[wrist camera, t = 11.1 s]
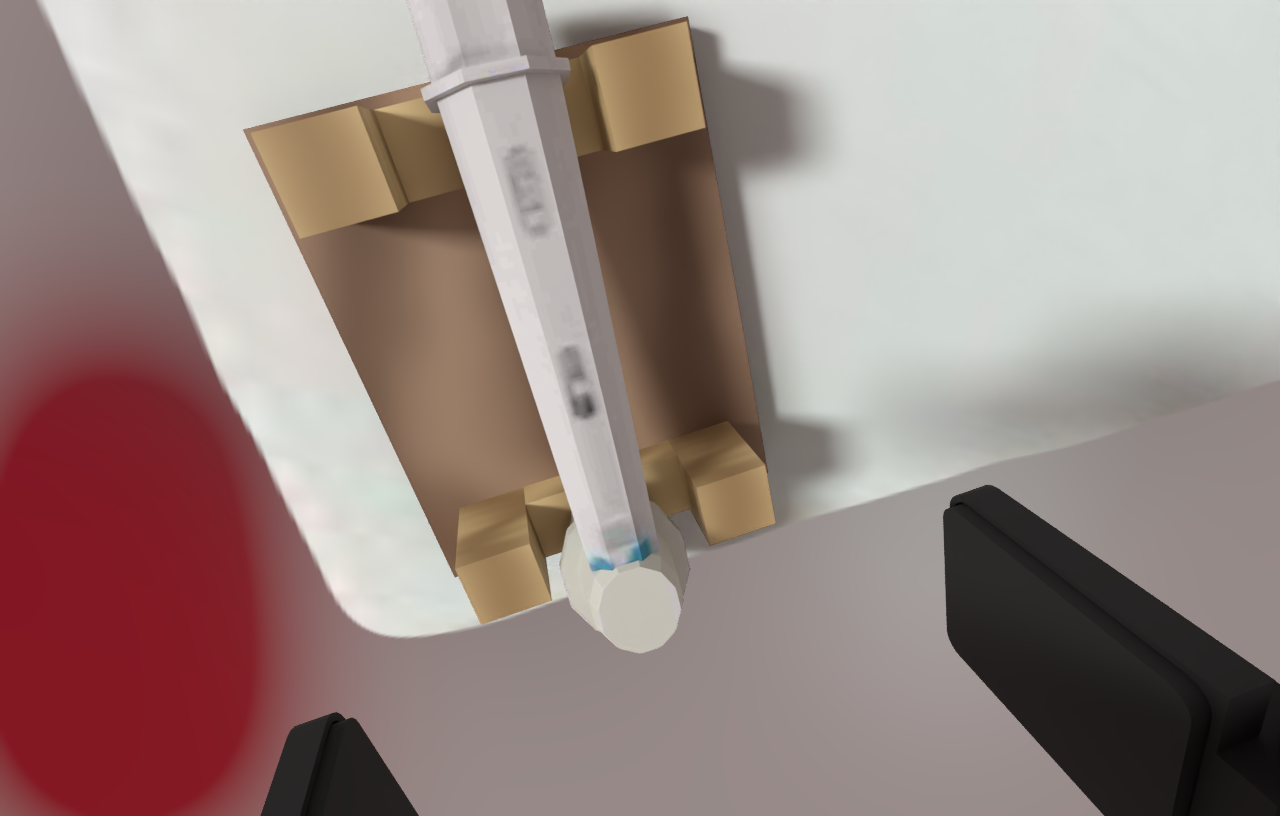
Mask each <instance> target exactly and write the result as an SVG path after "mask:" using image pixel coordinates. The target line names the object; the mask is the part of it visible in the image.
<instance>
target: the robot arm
mask: <svg viewBox="0 0 1280 816" xmlns="http://www.w3.org/2000/svg"><path fill="white" fill-rule="evenodd" d="M943 522H944V523H943V525H944V555H945V585H946V616H947V633H948V636H949V640H950V642H951V644H952V646H953V647H954V649H955V651H956V652H957V653H958V654H959V656H960V657H961V658H962V659H963V660H964V661H965V662H966V663H967V664H968V665H969V667H971V669H972V670H973V671H974V672H975V673H976V674H977V675H978V676H979V678H980V679H981V680H982V681H983V682H984V683H985V684H986V685H987V687H988V688H989V689H990V690H991V691H992V692H993V693H994V694H995V695H996V696H997V697H998V699H999V700H1000V701H1001V702H1002V703H1003V704H1004V705H1005V706H1006V708H1007V709H1008V710H1009V711H1010V712H1011V713H1012V714H1013V715H1014V716H1015V717H1016V719H1017V720H1018V721H1019V722H1020V723H1021V724H1022V725H1023V726H1024V727H1025V729H1027V731H1028V732H1029V733H1030V734H1031V735H1032V736H1033V737H1034V738H1035V739H1036V741H1037V742H1038V743H1039V744H1040V745H1041V746H1042V747H1043V748H1044V750H1045V751H1046V752H1047V753H1048V754H1049V755H1050V756H1051V757H1052V758H1053V759H1054V760H1055V762H1056V763H1057V764H1058V765H1059V766H1060V767H1061V768H1062V769H1063V771H1064V772H1065V773H1066V774H1067V775H1068V776H1069V777H1070V778H1071V779H1072V781H1074V783H1075V784H1076V785H1077V786H1078V787H1079V788H1080V789H1081V790H1082V792H1083V793H1084V794H1085V795H1086V796H1087V797H1088V798H1089V799H1090V800H1091V802H1092V803H1093V804H1094V805H1095V806H1096V807H1097V808H1098V809H1099V810H1100V811H1101V813H1102V814H1103V815H1104V816H1280V684H1279V683H1277V682H1276V681H1275V680H1274V679H1272V678H1271V677H1270V676H1268V675H1267V674H1265V673H1264V672H1262V671H1261V670H1259V669H1258V668H1257V667H1255V666H1254V665H1252V664H1251V663H1249V662H1248V661H1246V660H1245V659H1244V658H1242V657H1241V656H1239V655H1238V654H1236V653H1235V652H1233V651H1232V650H1231V649H1229V648H1228V647H1226V646H1225V645H1223V644H1222V643H1220V642H1219V641H1218V640H1216V639H1215V638H1213V637H1212V636H1210V635H1209V634H1207V633H1206V632H1205V631H1203V630H1202V629H1200V628H1199V627H1197V626H1196V625H1194V624H1193V623H1192V622H1190V621H1189V620H1187V619H1186V618H1184V617H1183V616H1182V615H1180V614H1179V613H1177V612H1176V611H1174V610H1173V609H1171V608H1170V607H1169V606H1167V605H1166V604H1164V603H1163V602H1161V601H1160V600H1158V599H1157V598H1156V597H1154V596H1153V595H1151V594H1150V593H1148V592H1147V591H1145V590H1144V589H1143V588H1141V587H1140V586H1138V585H1137V584H1135V583H1134V582H1132V581H1131V580H1130V579H1128V578H1127V577H1125V576H1124V575H1122V574H1121V573H1119V572H1118V571H1117V570H1115V569H1114V568H1112V567H1111V566H1109V565H1108V564H1106V563H1105V562H1103V561H1102V560H1101V559H1099V558H1098V557H1096V556H1095V555H1093V554H1092V553H1091V552H1089V551H1088V550H1086V549H1085V548H1083V547H1082V546H1080V545H1079V544H1078V543H1076V542H1075V541H1073V540H1072V539H1070V538H1069V537H1067V536H1066V535H1065V534H1063V533H1062V532H1060V531H1059V530H1057V529H1056V528H1054V527H1053V526H1052V525H1050V524H1049V523H1047V522H1046V521H1044V520H1043V519H1041V518H1040V517H1039V516H1037V515H1036V514H1034V513H1033V512H1031V511H1030V510H1028V509H1027V508H1026V507H1024V506H1023V505H1021V504H1020V503H1018V502H1017V501H1015V500H1014V499H1013V498H1011V497H1010V496H1008V495H1007V494H1005V493H1004V492H1002V491H1001V490H1000V489H998V488H996V487H994V486H992V485H985V486H982V487H979V488H976V489H973V490H971V491H968V492H965V493H962V494H959V495H956V496H954V497H953V498H952V499H951V501H950V508H948V509H946V510H945V511H944V515H943ZM261 816H419V815H418V814H417V812H416V811H415V809H414V808H413V806H412V804H411V803H410V802H409V800H408V798H407V797H406V795H405V794H404V792H403V791H402V789H401V787H400V786H399V784H398V783H397V781H396V780H395V778H394V777H393V775H392V774H391V772H390V770H389V769H388V767H387V766H386V764H385V763H384V761H383V760H382V758H381V757H380V755H379V753H378V752H377V751H376V749H375V747H374V746H373V744H372V743H371V741H370V739H369V738H368V737H367V735H366V733H365V732H364V730H363V729H362V727H361V726H360V724H359V723H358V721H357V720H356V719H354V718H349V719H345V718H344V717H343V716H342V715H341V714H339V713H337V712H336V713H332V714H329V715H326V716H323V717H320V718H317V719H314V720H311V721H309V722H306V723H303V724H300V725H297V726H295V727H294V728H293V729H292V730H291V731H290V733H289V735H288V737H287V739H286V742H285V745H284V748H283V751H282V754H281V757H280V761H279V763H278V766H277V769H276V772H275V775H274V778H273V781H272V784H271V787H270V790H269V793H268V796H267V798H266V801H265V804H264V807H263V810H262V813H261Z"/></svg>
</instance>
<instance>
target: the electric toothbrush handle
mask: <svg viewBox="0 0 1280 816" xmlns="http://www.w3.org/2000/svg"><path fill="white" fill-rule="evenodd" d="M407 4H408V7H409V10H410V14H411V17H412V21H413V24H414V27H415V31H416V34H417V37H418V41H419V44H420V47H421V51H422V54H423V57H424V61H425V64H426V67H427V71H428V74H429V78H430V81H431V84H429V85H427V86H425V87H424V88H422V89H420V90H421V93H422V96H423V99H424V102H425V104H426V105H427V106H428V108H429V109H430V111H431V112H432V113H441V116H442V119H443V122H444V125H445V128H446V131H447V134H448V137H449V140H450V143H451V147H452V150H453V153H454V156H455V159H456V162H457V165H458V168H459V171H460V174H461V177H462V180H463V183H464V186H465V189H466V192H467V195H468V198H469V201H470V204H471V207H472V210H473V213H474V216H475V219H476V223H477V226H478V229H479V232H480V235H481V238H482V241H483V244H484V247H485V250H486V253H487V256H488V259H489V262H490V265H491V268H492V271H493V274H494V277H495V280H496V283H497V286H498V289H499V292H500V296H501V299H502V302H503V305H504V308H505V311H506V314H507V317H508V320H509V323H510V326H511V329H512V332H513V335H514V338H515V341H516V344H517V347H518V350H519V353H520V356H521V359H522V362H523V365H524V369H525V372H526V375H527V378H528V381H529V384H530V387H531V390H532V393H533V396H534V399H535V402H536V405H537V408H538V411H539V414H540V417H541V420H542V423H543V426H544V429H545V432H546V435H547V438H548V441H549V445H550V448H551V451H552V454H553V457H554V460H555V463H556V466H557V469H558V472H559V475H560V478H561V481H562V484H563V487H564V490H565V493H566V496H567V499H568V502H569V505H570V508H571V511H572V513H571V521H570V526H569V527H568V528H567V531H566V536H565V541H564V545H563V550H562V555H561V560H560V571H561V575H562V578H563V581H564V585H565V588H566V591H567V595H568V598H569V601H570V604H571V607H572V608H573V609H575V611H576V612H577V613H578V614H580V615H581V616H582V617H583V618H584V619H585V620H586V621H587V622H588V623H589V624H590V625H591V626H592V627H593V628H594V629H595V630H597V631H600V632H601V633H602V634H604V636H606V637H607V638H608V639H609V640H610V641H611V642H612V643H613V644H614V645H615V646H617V647H618V648H620V649H623V650H627V651H632V652H636V653H644V652H647V651H650V650H653V649H656V648H659V647H661V646H662V645H663V644H664V643H665V642H666V641H667V640H668V639H669V638H670V637H671V635H672V634H673V633H674V632H675V631H676V628H677V624H678V620H679V616H680V612H681V609H682V605H683V601H684V599H683V596H684V592H685V588H686V584H687V580H688V576H689V572H690V567H689V562H688V558H687V553H686V549H685V545H684V541H683V536H682V534H681V532H680V530H679V528H678V527H677V526H676V525H675V524H674V523H673V522H672V521H671V519H670V518H669V517H668V516H667V515H666V514H665V513H664V512H663V511H662V510H661V508H660V507H659V506H658V505H657V504H656V503H655V502H651V501H649V497H648V492H647V487H646V483H645V478H644V473H643V468H642V463H641V459H640V454H639V449H638V444H637V440H636V435H635V430H634V425H633V421H632V416H631V411H630V406H629V401H628V397H627V392H626V387H625V382H624V378H623V373H622V368H621V363H620V359H619V354H618V349H617V344H616V340H615V335H614V330H613V325H612V320H611V316H610V311H609V306H608V301H607V297H606V292H605V287H604V282H603V278H602V273H601V268H600V263H599V258H598V254H597V249H596V244H595V239H594V235H593V230H592V225H591V220H590V216H589V211H588V206H587V201H586V196H585V192H584V187H583V182H582V177H581V173H580V168H579V163H578V158H577V154H576V149H575V144H574V139H573V134H572V130H571V125H570V120H569V115H568V111H567V106H566V101H565V96H564V92H563V87H562V86H563V85H566V84H567V81H568V78H569V75H570V72H571V68H570V64H569V60H568V58H561V57H556V56H555V52H554V48H553V44H552V39H551V35H550V31H549V27H548V23H547V19H546V15H545V10H544V6H543V2H542V0H407Z"/></svg>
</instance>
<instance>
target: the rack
mask: <svg viewBox="0 0 1280 816" xmlns="http://www.w3.org/2000/svg"><path fill="white" fill-rule="evenodd" d="M554 52H555V56H556V57H561V58H568V60H569V64H570V68H571V72H570V75H569V78H568V81H567V84H566V85H563V86H562V87H563V92H564V96H565V101H566V106H567V111H568V115H569V120H570V125H571V130H572V134H573V139H574V144H575V149H576V154H577V158H578V163H579V168H580V173H581V177H582V182H583V187H584V192H585V196H586V201H587V206H588V211H589V216H590V220H591V225H592V230H593V235H594V239H595V244H596V249H597V254H598V258H599V263H600V268H601V273H602V278H603V282H604V287H605V292H606V297H607V301H608V306H609V311H610V316H611V320H612V325H613V330H614V335H615V340H616V344H617V349H618V354H619V359H620V363H621V368H622V373H623V378H624V382H625V387H626V392H627V397H628V401H629V406H630V411H631V416H632V421H633V425H634V430H635V435H636V440H637V444H638V449H639V454H640V459H641V463H642V468H643V473H644V478H645V483H646V487H647V492H648V497H649V501H651V502H655V503H656V504H657V505H658V506H659V507H660V508H661V510H662V511H663V512H664V513H665V514H666V515H667V516H669V515H672V514H675V513H678V512H681V511H684V510H687V509H690V510H691V512H692V514H693V515H694V517H695V519H696V521H697V523H698V525H699V526H700V528H701V530H702V532H703V534H704V536H705V537H706V539H707V541H708V543H709V545H710V546H711V545H714V544H717V543H720V542H723V541H726V540H728V539H731V538H734V537H737V536H740V535H743V534H746V533H749V532H752V531H755V530H757V529H760V528H763V527H766V526H769V525H772V524H775V518H774V512H773V506H772V501H771V495H770V489H769V484H768V478H767V472H768V470H767V465H766V459H765V453H764V447H763V442H762V436H761V430H760V425H759V419H758V413H757V408H756V402H755V396H754V390H753V385H752V379H751V373H750V368H749V362H748V356H747V351H746V345H745V339H744V333H743V328H742V322H741V316H740V311H739V305H738V299H737V294H736V288H735V282H734V276H733V271H732V265H731V259H730V254H729V248H728V242H727V237H726V231H725V225H724V219H723V214H722V208H721V202H720V197H719V191H718V185H717V180H716V174H715V168H714V162H713V157H712V151H711V145H710V140H709V134H708V128H707V123H706V117H705V111H704V105H703V100H702V94H701V88H700V83H699V77H698V71H697V66H696V60H695V54H694V48H693V43H692V37H691V31H690V26H689V20H688V16H687V17H683V18H679V19H675V20H671V21H667V22H664V23H660V24H656V25H652V26H648V27H644V28H640V29H636V30H632V31H628V32H624V33H620V34H616V35H613V36H609V37H605V38H601V39H597V40H593V41H589V42H585V43H581V44H577V45H573V46H569V47H565V48H562V49H558V50H554ZM429 84H431V82H428V83H424V84H420V85H416V86H412V87H409V88H405V89H401V90H397V91H393V92H389V93H385V94H381V95H377V96H373V97H369V98H365V99H361V100H358V101H354V102H350V103H346V104H342V105H338V106H334V107H330V108H326V109H322V110H318V111H314V112H310V113H307V114H303V115H299V116H295V117H291V118H287V119H283V120H279V121H275V122H271V123H267V124H263V125H259V126H256V127H252V128H248V129H244V130H243V131H244V133H245V135H246V137H247V139H248V141H249V143H250V146H251V148H252V150H253V152H254V154H255V156H256V158H257V160H258V162H259V165H260V167H261V169H262V171H263V173H264V175H265V177H266V179H267V181H268V184H269V186H270V188H271V190H272V192H273V194H274V196H275V198H276V201H277V203H278V205H279V207H280V209H281V211H282V213H283V215H284V217H285V220H286V222H287V224H288V226H289V228H290V230H291V232H292V234H293V236H294V239H295V241H296V243H297V245H298V247H299V249H300V251H301V253H302V255H303V258H304V260H305V262H306V264H307V266H308V268H309V270H310V272H311V274H312V277H313V279H314V281H315V283H316V285H317V287H318V289H319V291H320V293H321V296H322V298H323V300H324V302H325V304H326V306H327V308H328V310H329V312H330V315H331V317H332V319H333V321H334V323H335V325H336V327H337V329H338V331H339V334H340V336H341V338H342V340H343V342H344V344H345V346H346V348H347V350H348V353H349V355H350V357H351V359H352V361H353V363H354V365H355V367H356V369H357V372H358V374H359V376H360V378H361V380H362V382H363V384H364V386H365V389H366V391H367V393H368V395H369V397H370V399H371V401H372V403H373V405H374V408H375V410H376V412H377V414H378V416H379V418H380V420H381V422H382V424H383V427H384V429H385V431H386V433H387V435H388V437H389V439H390V441H391V443H392V446H393V448H394V450H395V452H396V454H397V456H398V458H399V460H400V462H401V465H402V467H403V469H404V471H405V473H406V475H407V477H408V479H409V481H410V484H411V486H412V488H413V490H414V492H415V494H416V496H417V498H418V500H419V503H420V505H421V507H422V509H423V511H424V513H425V515H426V517H427V519H428V522H429V524H430V526H431V528H432V530H433V532H434V534H435V536H436V538H437V541H438V543H439V545H440V547H441V549H442V551H443V553H444V555H445V557H446V560H447V562H448V564H449V566H450V568H451V570H452V572H453V574H454V577H458V576H459V579H460V581H461V583H462V585H463V587H464V589H465V591H466V593H467V596H468V598H469V600H470V602H471V604H472V606H473V608H474V611H475V613H476V615H477V617H478V619H479V621H480V623H481V625H482V624H485V623H488V622H491V621H494V620H497V619H500V618H503V617H505V616H508V615H511V614H514V613H517V612H520V611H523V610H526V609H529V608H531V607H534V606H537V605H540V604H543V603H546V602H549V601H552V599H551V592H550V584H549V577H548V570H547V563H546V557H548V556H551V555H554V554H557V553H560V552H562V550H563V545H564V541H565V536H566V531H567V528H568V527H569V526H570V521H571V513H572V511H571V508H570V505H569V502H568V499H567V496H566V493H565V490H564V487H563V484H562V481H561V478H560V475H559V472H558V469H557V466H556V463H555V460H554V457H553V454H552V451H551V448H550V445H549V441H548V438H547V435H546V432H545V429H544V426H543V423H542V420H541V417H540V414H539V411H538V408H537V405H536V402H535V399H534V396H533V393H532V390H531V387H530V384H529V381H528V378H527V375H526V372H525V369H524V365H523V362H522V359H521V356H520V353H519V350H518V347H517V344H516V341H515V338H514V335H513V332H512V329H511V326H510V323H509V320H508V317H507V314H506V311H505V308H504V305H503V302H502V299H501V296H500V292H499V289H498V286H497V283H496V280H495V277H494V274H493V271H492V268H491V265H490V262H489V259H488V256H487V253H486V250H485V247H484V244H483V241H482V238H481V235H480V232H479V229H478V226H477V223H476V219H475V216H474V213H473V210H472V207H471V204H470V201H469V198H468V195H467V192H466V189H465V186H464V183H463V180H462V177H461V174H460V171H459V168H458V165H457V162H456V159H455V156H454V153H453V150H452V147H451V143H450V140H449V137H448V134H447V131H446V128H445V125H444V122H443V119H442V116H441V113H432V112H431V111H430V109H429V108H428V106H427V105H426V104H425V102H424V99H423V96H422V93H421V90H420V89H422V88H424V87H425V86H427V85H429Z"/></svg>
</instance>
